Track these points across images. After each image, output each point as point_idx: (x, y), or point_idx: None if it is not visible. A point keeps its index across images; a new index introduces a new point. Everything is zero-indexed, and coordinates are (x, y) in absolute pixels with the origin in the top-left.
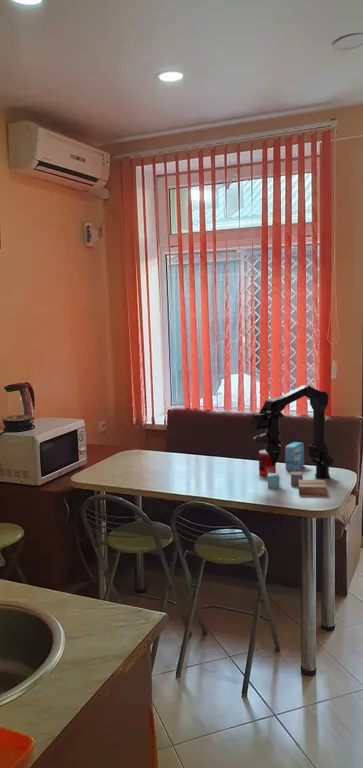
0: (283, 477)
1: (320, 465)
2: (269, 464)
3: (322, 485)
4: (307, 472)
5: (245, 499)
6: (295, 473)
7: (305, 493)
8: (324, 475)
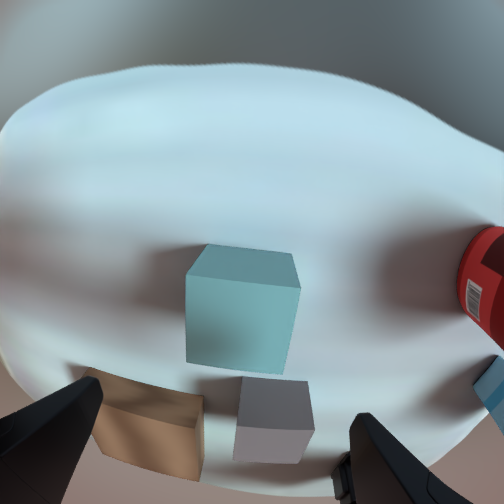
0: (412, 351)
1: (349, 501)
2: (498, 315)
3: (121, 456)
4: (435, 423)
5: (15, 122)
6: (266, 444)
7: None
8: (334, 477)
